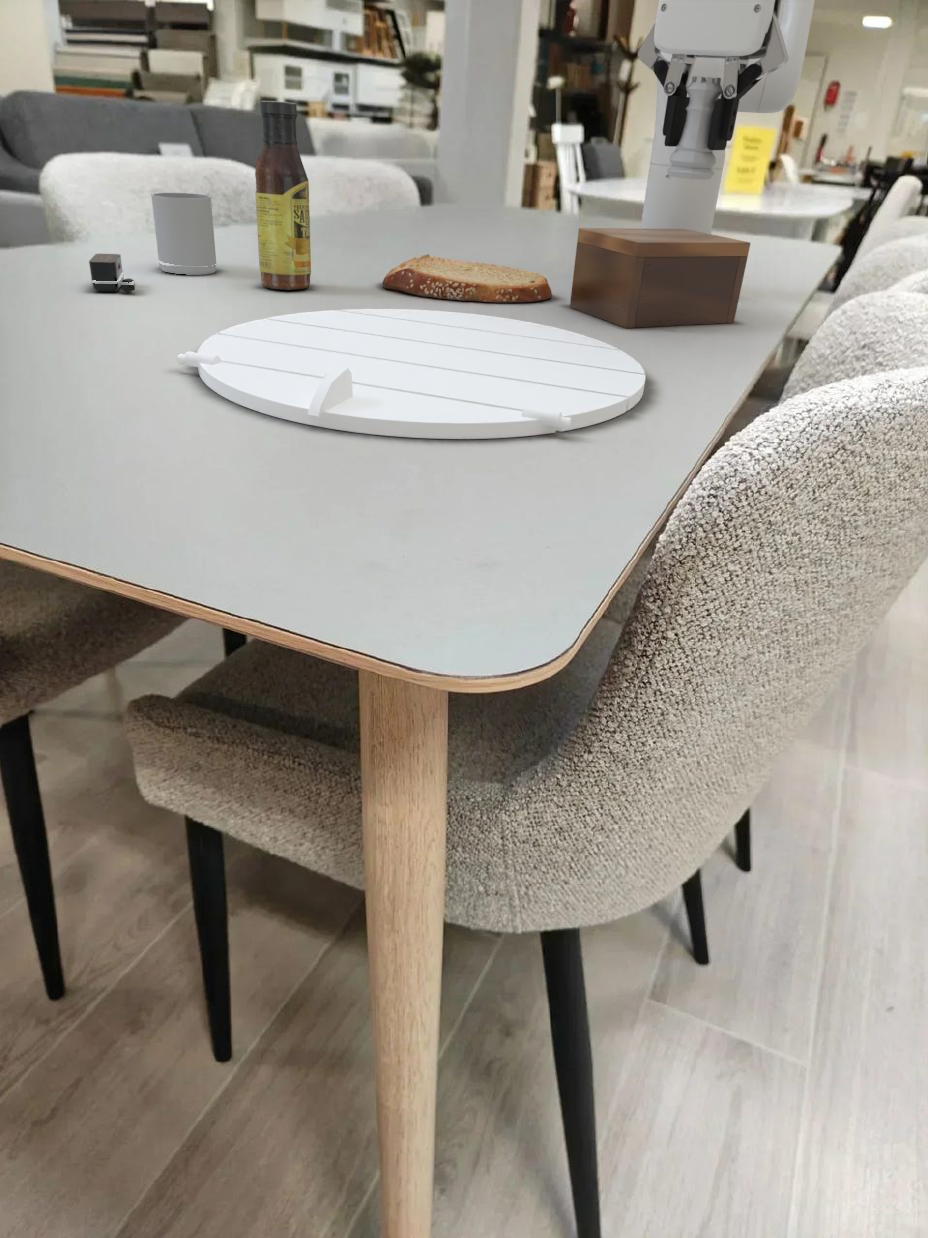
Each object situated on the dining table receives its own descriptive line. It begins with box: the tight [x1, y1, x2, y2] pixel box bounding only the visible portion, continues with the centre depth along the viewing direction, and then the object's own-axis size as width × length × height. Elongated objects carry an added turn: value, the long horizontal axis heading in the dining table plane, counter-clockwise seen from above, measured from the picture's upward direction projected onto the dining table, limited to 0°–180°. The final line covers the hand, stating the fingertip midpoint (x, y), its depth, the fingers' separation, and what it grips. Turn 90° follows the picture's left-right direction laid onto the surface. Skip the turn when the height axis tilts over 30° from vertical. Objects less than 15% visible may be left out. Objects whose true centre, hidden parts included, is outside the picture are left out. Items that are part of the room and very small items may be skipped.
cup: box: [150, 192, 217, 276], centre depth 112 cm, size 7×10×9 cm
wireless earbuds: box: [88, 253, 136, 293], centre depth 99 cm, size 5×7×3 cm, turn 13°
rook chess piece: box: [667, 76, 723, 180], centre depth 79 cm, size 4×4×8 cm
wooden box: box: [569, 227, 751, 329], centre depth 103 cm, size 12×16×9 cm
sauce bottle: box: [254, 100, 312, 291], centre depth 102 cm, size 6×6×20 cm
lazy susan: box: [176, 308, 647, 440], centre depth 76 cm, size 40×39×3 cm
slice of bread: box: [381, 253, 553, 303], centre depth 110 cm, size 18×18×4 cm
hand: (695, 145), depth 80 cm, fingers closed on rook chess piece, 3 cm apart
